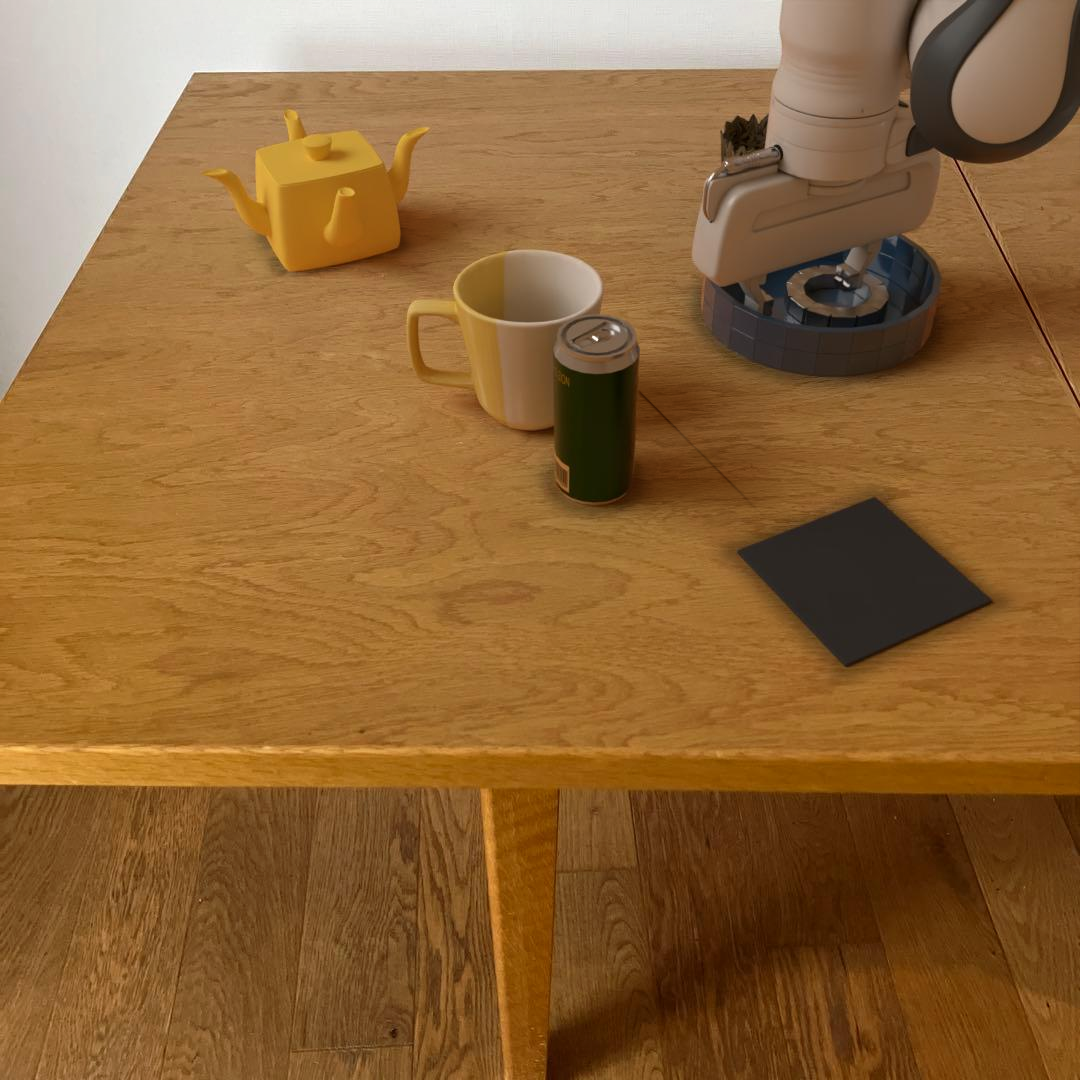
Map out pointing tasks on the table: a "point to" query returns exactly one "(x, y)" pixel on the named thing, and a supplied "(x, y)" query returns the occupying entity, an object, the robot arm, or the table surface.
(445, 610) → the table surface
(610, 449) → the beer can
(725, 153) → the cup
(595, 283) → the mug
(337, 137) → the teapot
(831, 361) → the bowl
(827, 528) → the mat
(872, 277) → the ring
